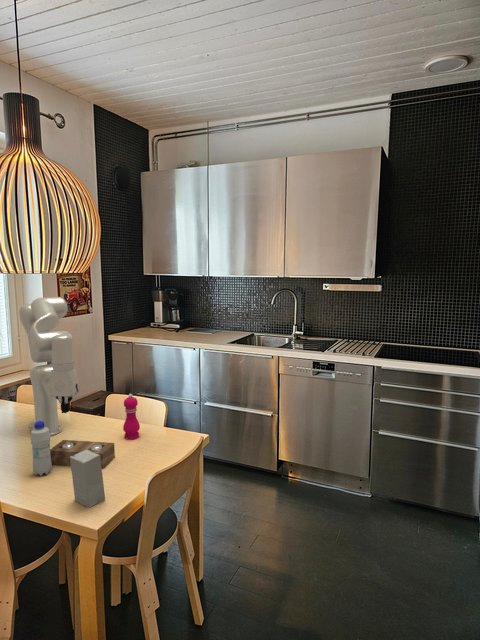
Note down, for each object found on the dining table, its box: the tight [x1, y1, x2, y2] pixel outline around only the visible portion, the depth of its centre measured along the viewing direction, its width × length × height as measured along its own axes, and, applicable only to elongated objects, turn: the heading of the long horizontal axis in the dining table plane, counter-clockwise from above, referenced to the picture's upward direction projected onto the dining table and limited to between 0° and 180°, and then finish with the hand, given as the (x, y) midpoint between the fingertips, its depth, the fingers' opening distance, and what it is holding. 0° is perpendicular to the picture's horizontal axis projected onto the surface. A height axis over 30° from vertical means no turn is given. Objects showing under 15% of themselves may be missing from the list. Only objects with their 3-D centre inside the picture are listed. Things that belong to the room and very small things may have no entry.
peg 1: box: [62, 443, 73, 449], centre depth 166 cm, size 4×4×6 cm
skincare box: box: [70, 450, 106, 508], centre depth 137 cm, size 8×7×16 cm
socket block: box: [50, 439, 116, 470], centre depth 165 cm, size 22×10×6 cm, turn 82°
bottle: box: [30, 421, 53, 477], centre depth 155 cm, size 7×7×20 cm
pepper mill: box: [122, 393, 141, 441], centre depth 187 cm, size 7×7×20 cm
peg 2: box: [91, 444, 102, 451], centre depth 164 cm, size 4×4×6 cm
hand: (65, 411), depth 164 cm, fingers closed
